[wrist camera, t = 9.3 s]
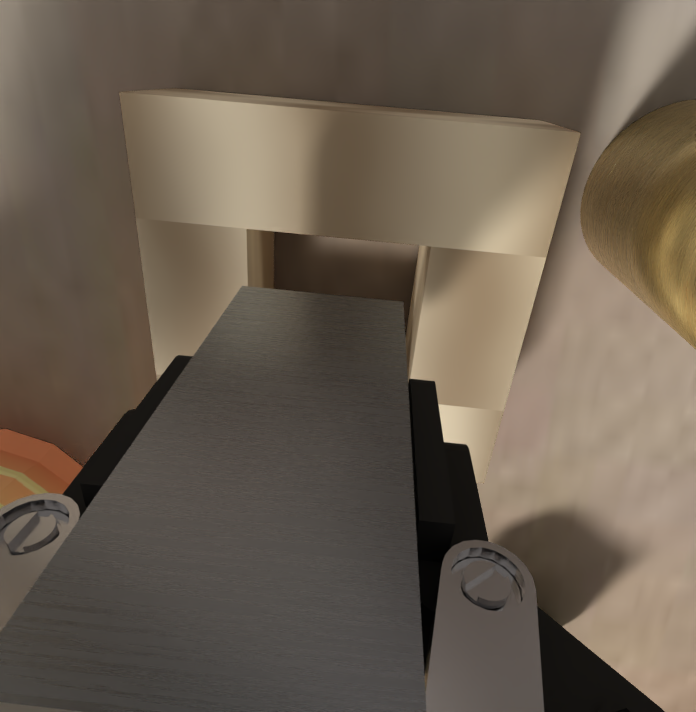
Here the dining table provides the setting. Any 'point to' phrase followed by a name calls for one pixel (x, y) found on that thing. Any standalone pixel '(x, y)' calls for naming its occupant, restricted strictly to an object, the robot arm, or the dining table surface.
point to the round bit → (649, 213)
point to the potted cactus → (32, 467)
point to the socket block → (352, 222)
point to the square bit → (246, 533)
